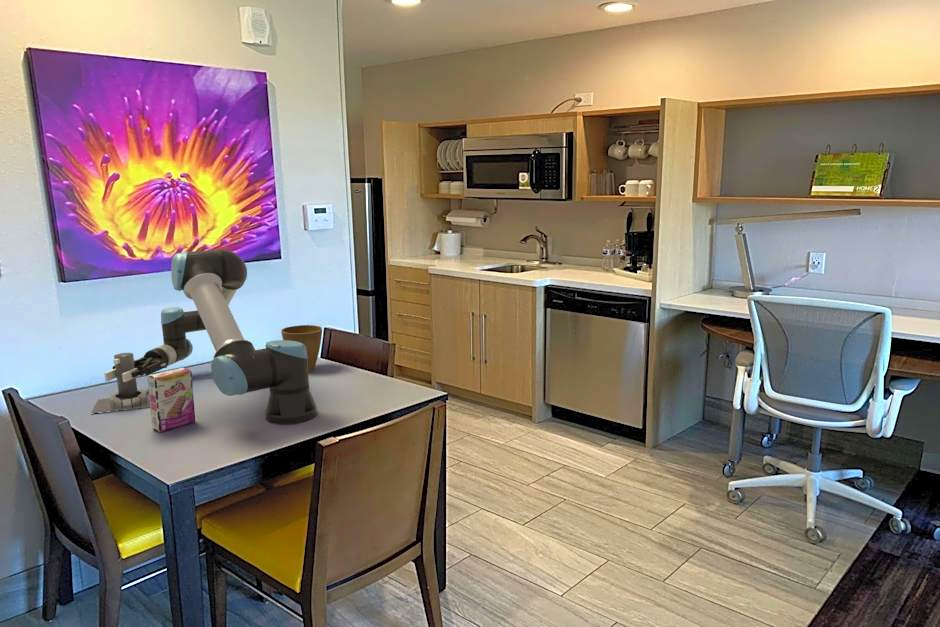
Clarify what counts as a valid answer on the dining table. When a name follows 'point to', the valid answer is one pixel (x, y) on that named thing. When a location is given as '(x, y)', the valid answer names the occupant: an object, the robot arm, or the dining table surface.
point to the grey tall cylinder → (123, 365)
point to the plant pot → (305, 340)
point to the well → (122, 402)
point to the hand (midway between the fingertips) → (114, 377)
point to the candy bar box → (171, 399)
